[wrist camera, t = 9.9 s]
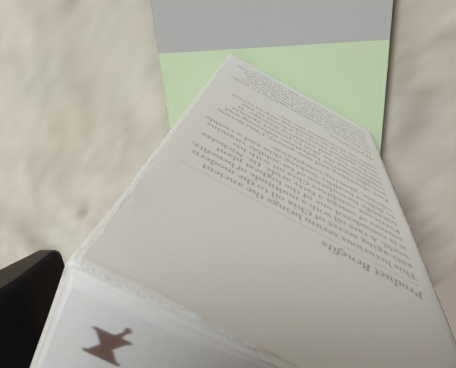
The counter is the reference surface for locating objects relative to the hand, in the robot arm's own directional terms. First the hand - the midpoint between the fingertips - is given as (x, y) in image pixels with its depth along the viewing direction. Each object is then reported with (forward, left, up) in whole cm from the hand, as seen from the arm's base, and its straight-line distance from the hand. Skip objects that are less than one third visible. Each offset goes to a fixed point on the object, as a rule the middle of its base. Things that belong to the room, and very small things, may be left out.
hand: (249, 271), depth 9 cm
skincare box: (0, 0, -8) cm, 8 cm away
